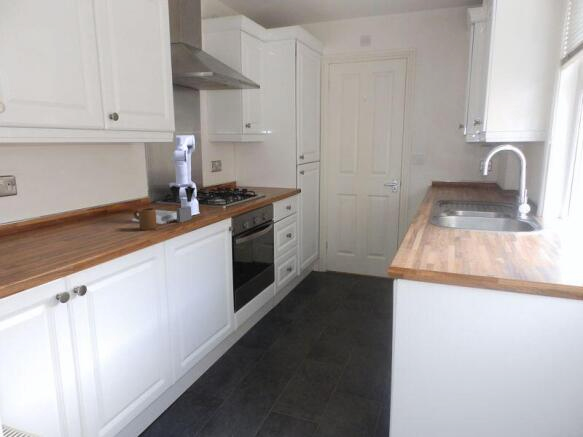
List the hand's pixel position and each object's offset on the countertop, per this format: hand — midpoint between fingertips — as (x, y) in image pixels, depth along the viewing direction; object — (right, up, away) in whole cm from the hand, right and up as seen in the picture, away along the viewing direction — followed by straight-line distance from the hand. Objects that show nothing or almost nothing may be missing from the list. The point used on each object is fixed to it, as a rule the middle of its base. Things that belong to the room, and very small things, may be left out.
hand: (183, 201), depth 209 cm
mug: (-14, -14, -15) cm, 25 cm away
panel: (0, -10, +2) cm, 10 cm away
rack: (-15, -9, +6) cm, 19 cm away
